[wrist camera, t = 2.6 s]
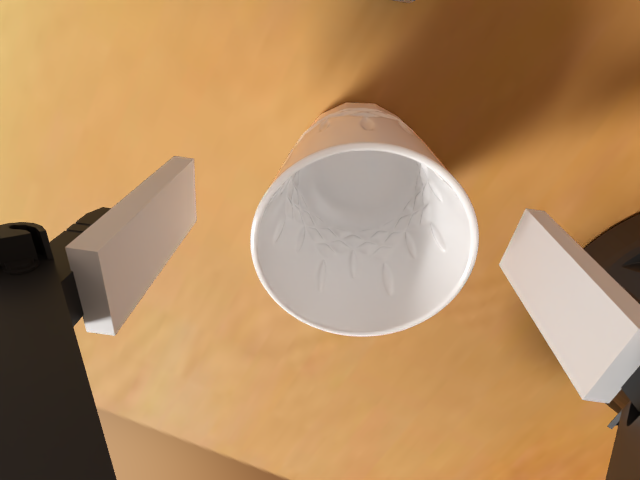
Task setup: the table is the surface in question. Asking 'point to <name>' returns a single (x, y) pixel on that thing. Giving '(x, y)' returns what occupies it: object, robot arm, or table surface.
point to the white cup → (363, 226)
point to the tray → (405, 1)
